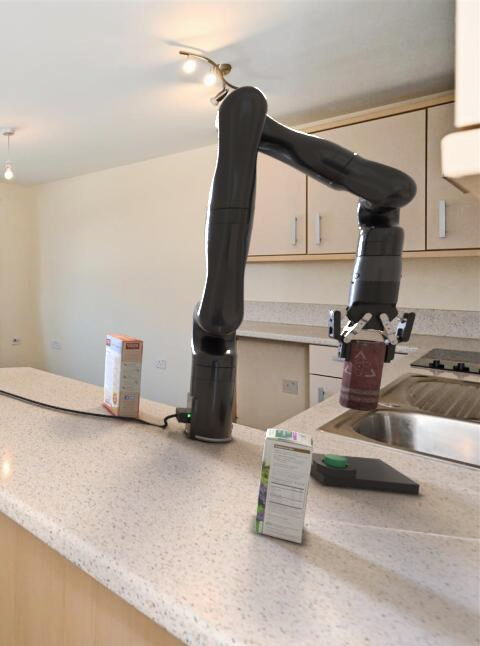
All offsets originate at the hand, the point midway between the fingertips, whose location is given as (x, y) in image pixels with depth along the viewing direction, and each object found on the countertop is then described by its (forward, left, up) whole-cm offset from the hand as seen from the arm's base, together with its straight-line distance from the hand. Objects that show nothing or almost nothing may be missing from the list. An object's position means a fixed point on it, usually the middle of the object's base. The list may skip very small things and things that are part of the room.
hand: (364, 361), depth 95 cm
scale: (-6, -13, -20) cm, 25 cm away
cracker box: (-46, +20, -20) cm, 54 cm away
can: (0, 0, -10) cm, 10 cm away
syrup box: (-26, -38, -20) cm, 50 cm away
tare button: (-10, -17, -17) cm, 26 cm away
